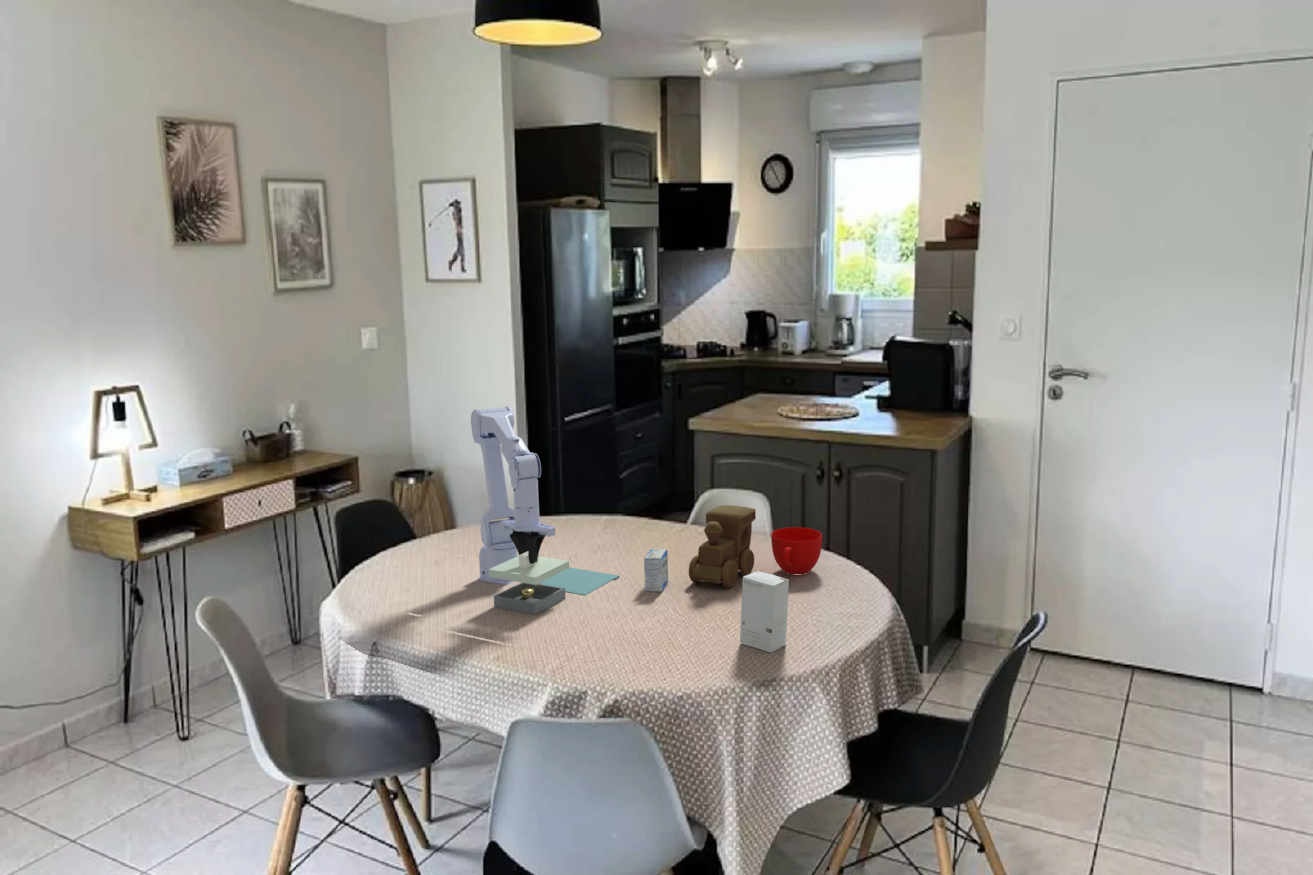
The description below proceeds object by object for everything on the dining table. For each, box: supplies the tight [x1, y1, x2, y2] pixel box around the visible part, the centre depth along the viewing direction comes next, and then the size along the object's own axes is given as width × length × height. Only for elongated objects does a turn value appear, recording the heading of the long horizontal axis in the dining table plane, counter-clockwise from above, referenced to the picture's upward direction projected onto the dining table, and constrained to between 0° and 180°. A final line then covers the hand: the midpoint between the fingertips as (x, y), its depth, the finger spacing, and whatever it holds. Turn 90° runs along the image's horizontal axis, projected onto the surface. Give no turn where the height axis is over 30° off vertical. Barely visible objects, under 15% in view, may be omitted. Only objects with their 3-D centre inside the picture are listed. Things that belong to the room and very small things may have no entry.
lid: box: [489, 551, 570, 585], centre depth 229 cm, size 13×13×5 cm
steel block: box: [525, 598, 539, 603], centre depth 227 cm, size 4×2×2 cm, turn 61°
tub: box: [493, 582, 566, 616], centre depth 230 cm, size 12×12×3 cm
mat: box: [539, 566, 621, 596], centre depth 245 cm, size 16×16×1 cm
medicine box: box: [643, 548, 669, 593], centre depth 240 cm, size 8×4×9 cm, turn 168°
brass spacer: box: [521, 588, 534, 600], centre depth 233 cm, size 3×3×2 cm
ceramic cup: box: [770, 526, 823, 575], centre depth 247 cm, size 13×17×10 cm
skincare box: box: [739, 570, 790, 654], centre depth 202 cm, size 8×6×15 cm
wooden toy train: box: [688, 504, 757, 589], centre depth 245 cm, size 20×11×17 cm, turn 151°
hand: (529, 561), depth 229 cm, fingers closed on lid
